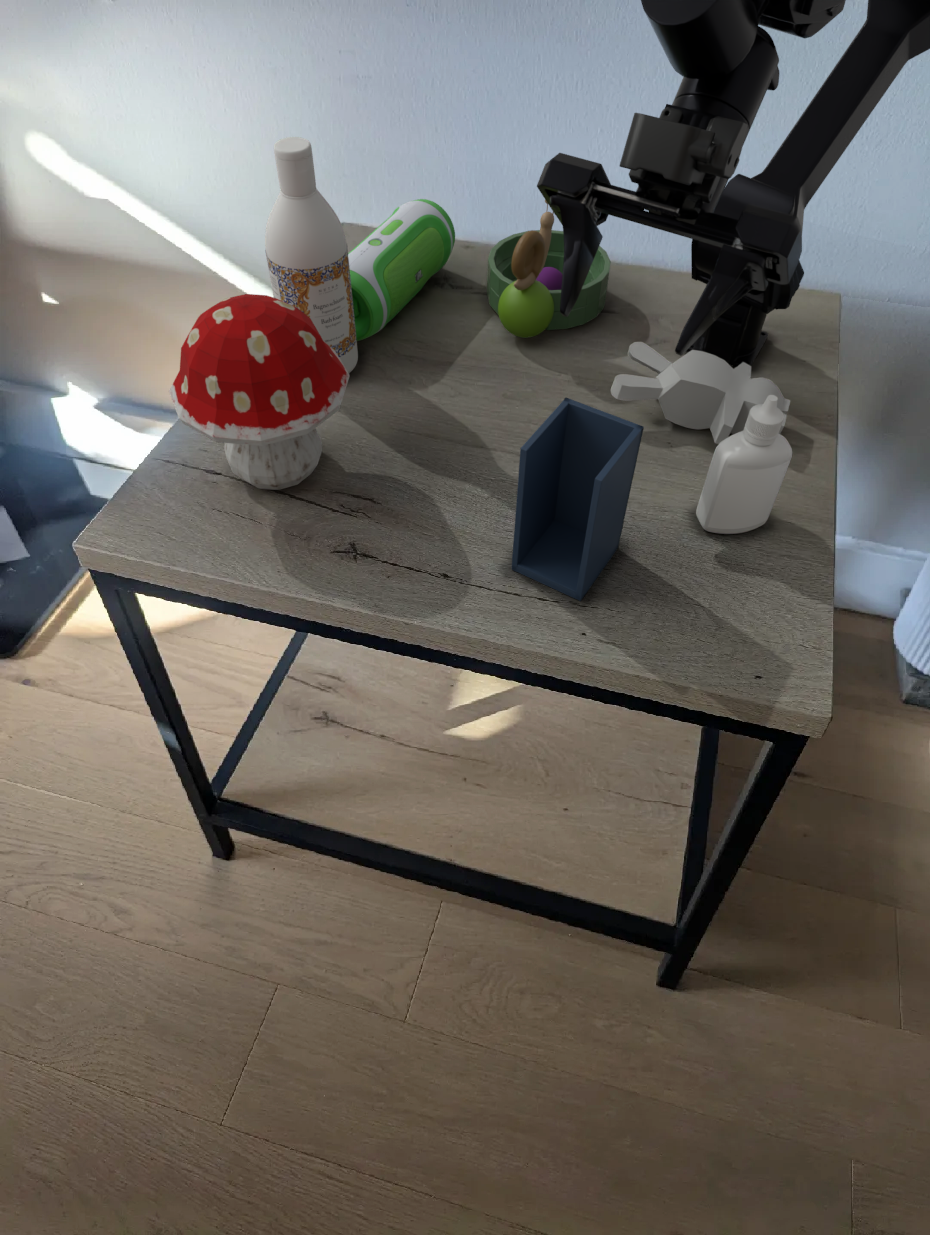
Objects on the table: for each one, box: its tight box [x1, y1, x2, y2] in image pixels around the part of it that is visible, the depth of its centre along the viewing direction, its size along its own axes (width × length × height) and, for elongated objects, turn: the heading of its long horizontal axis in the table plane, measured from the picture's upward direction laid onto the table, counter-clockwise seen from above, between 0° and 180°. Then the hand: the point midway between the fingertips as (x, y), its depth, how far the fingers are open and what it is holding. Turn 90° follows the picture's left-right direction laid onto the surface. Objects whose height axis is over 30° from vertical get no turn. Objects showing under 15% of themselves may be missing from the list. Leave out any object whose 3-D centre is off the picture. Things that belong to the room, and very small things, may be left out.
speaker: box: [348, 198, 456, 342], centre depth 87 cm, size 18×7×8 cm, turn 154°
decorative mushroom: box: [168, 293, 350, 491], centre depth 68 cm, size 14×14×15 cm
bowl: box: [486, 229, 612, 331], centre depth 89 cm, size 12×12×4 cm
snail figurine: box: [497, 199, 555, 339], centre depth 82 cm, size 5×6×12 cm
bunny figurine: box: [610, 341, 791, 445], centre depth 77 cm, size 10×5×15 cm
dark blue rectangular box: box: [510, 397, 645, 602], centre depth 63 cm, size 6×6×12 cm
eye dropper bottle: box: [695, 395, 793, 535], centre depth 66 cm, size 4×6×12 cm
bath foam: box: [264, 136, 359, 374], centre depth 75 cm, size 7×7×20 cm
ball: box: [536, 267, 562, 290], centre depth 88 cm, size 4×4×4 cm
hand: (619, 333), depth 63 cm, fingers open, 9 cm apart
